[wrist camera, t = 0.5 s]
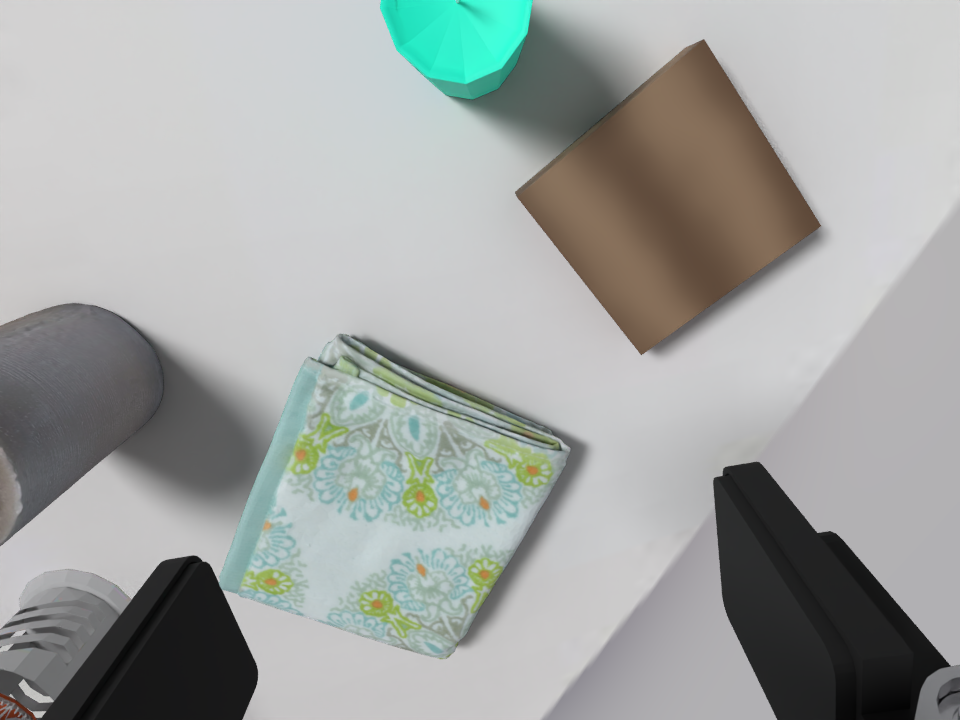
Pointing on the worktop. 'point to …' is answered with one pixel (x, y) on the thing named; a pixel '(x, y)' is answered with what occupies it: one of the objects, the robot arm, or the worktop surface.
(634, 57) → the worktop surface
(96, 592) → the french press
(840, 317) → the worktop surface
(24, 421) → the pillar candle
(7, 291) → the worktop surface
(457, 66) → the candle
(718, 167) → the walnut base
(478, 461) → the towel
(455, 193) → the worktop surface
